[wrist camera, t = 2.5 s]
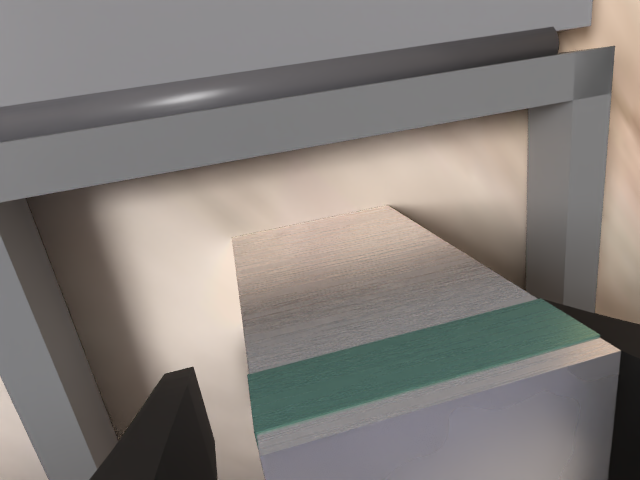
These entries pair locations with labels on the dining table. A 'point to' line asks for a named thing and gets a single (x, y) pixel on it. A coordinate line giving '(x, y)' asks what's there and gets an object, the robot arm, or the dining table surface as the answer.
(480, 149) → the dining table surface
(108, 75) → the hinged gray frame
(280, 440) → the block
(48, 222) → the dining table surface
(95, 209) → the dining table surface
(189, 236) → the dining table surface
